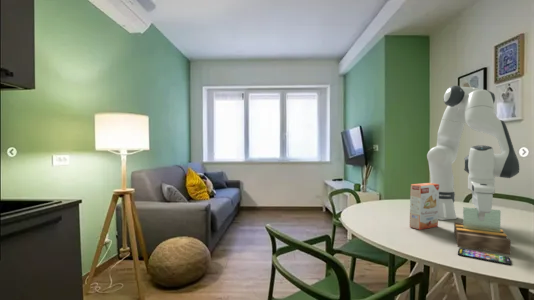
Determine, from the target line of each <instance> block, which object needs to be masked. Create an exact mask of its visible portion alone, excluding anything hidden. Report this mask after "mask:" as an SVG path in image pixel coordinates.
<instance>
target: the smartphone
mask: <svg viewBox="0 0 534 300" xmlns="http://www.w3.org/2000/svg"><path fill="white" fill-rule="evenodd" d="M457 255H458V256H459V257H464V258H470V259H474V260H479V261H484V262H489V263H494V264H500V265H505V266H511V265H512V262H511V257H509V256H505V255H500V254H495V253H491V252H483V251H481V250H476V249H470V248H464V247H459V248H458V250H457Z"/></svg>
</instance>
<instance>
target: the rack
mask: <svg viewBox="0 0 534 300" xmlns="http://www.w3.org/2000/svg"><path fill="white" fill-rule="evenodd" d="M453 225H454V227H453V230H454V231H453V233H454V238H455V240H456V244H457V247H459V248H463V249H470V250H477V251H486V252H493V253H498V254H500V253H501V254H506V255H510V254H511V239H510V238H508V235H507V234H506V233H505V232H504V229H500V233H497V232H488V231H480V230H472V229H463V222H458V221H454V223H453Z"/></svg>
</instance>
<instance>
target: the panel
mask: <svg viewBox="0 0 534 300" xmlns="http://www.w3.org/2000/svg"><path fill="white" fill-rule="evenodd" d="M462 211H463V212H462V214H463V215H462V223H463V229H472V230H480V231H488V232H497V233H500V230H501V215H502V214H501V213H502V212H501V210H500V209H493V208H491V212H490V213H485V217H484V221H479V219H478V216H479V212H478V210H477V208H476V207H467V206H463V209H462Z"/></svg>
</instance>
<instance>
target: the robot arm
mask: <svg viewBox="0 0 534 300" xmlns="http://www.w3.org/2000/svg"><path fill="white" fill-rule="evenodd" d="M495 101H496V95H495V93H494V92H492V91H490V90H487V89H481V88H477V87H474V86H472V87H471V86H461V85H451V86H449V87H448V88H447V89H446V90H445V92H444V94H443V103H444V104H445V105H446V108H445V110H444V112H443V115H442V117H441V120H440V124H439V127H438V131H437V138H436V139H437V140H436V146H433V147H432V148H430V149H429V150H428V152H427V154H426V158H427V161H428V162H427V163H428V169H429V173H430V174H429V177H430V183H434V184H439V206H438V221H439V220H441V221H446V220H456V219H457V218H458V217H457V212H456V209H455V208H456V207H455V202H456V201H455V200H456V194H455V189H454V188H455V177H454V172H453V166H452V165H453V164H454V163H455V161H456V160H457V158H458V153H459V148H460V143H461V138H462V135H463V131H464V128H465V126H466V125H467V126H468V127H469V128H470V129H471V130H474V131H476V132H479V133H483V134H486V135H489V136H492V137H494V138H495V139H496V140H497V143H498V145H499V150H500V153H495V151H494V148H493V147H492V146H489V145H473V146H471V147H470V149H469V154H468V155H466V156H465V157H464V168H463V170H464V172H466V173H467V174H468V175H467V190H470V191H471V195H472V196H471V199H472V200H471V201H472V204H473V206H474V208H477V210H478V212H479V216H478V219H479V221H484V217H485V213H490V212H491V209H493V208H492V207H493V200H494V199H493V198H494V197H493V196H494V195H493V194H495V192H496V177H498V178H504V179H511V178H513V177H515V176H517V175H518V174H519V173H520V170H521V164H520V163H521V162H520V161H519V158H518V156H517V154H516V151H515V149H514V145H513V142H512V140H511V136H510V133H509V130H508V126H507V125H506V123H505V121H504V120H502V119H499V118H498V117H497V115H496V114H495Z"/></svg>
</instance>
